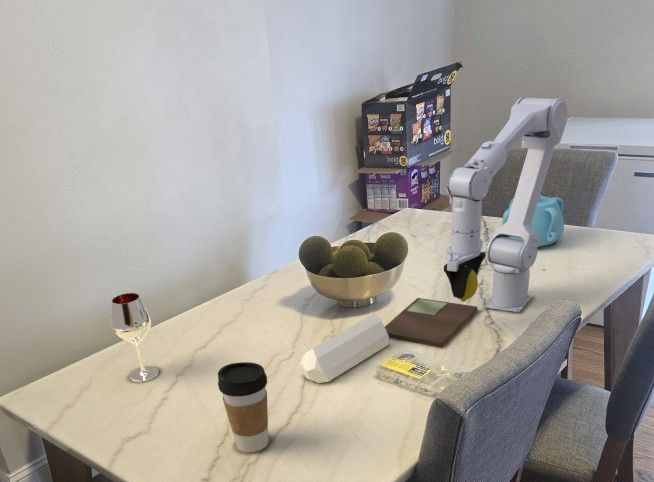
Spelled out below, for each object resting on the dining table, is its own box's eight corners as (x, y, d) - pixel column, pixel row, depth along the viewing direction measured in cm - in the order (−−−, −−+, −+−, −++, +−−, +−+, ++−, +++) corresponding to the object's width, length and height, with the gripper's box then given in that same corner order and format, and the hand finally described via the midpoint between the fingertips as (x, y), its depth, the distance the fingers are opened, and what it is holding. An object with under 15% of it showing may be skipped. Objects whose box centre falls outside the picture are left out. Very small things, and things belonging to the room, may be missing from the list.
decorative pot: (554, 255, 183) (559, 204, 176) (493, 250, 191) (496, 201, 184) (567, 235, 195) (573, 186, 187) (509, 231, 202) (513, 184, 195)
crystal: (361, 317, 154) (286, 359, 141) (383, 308, 148) (307, 351, 135) (375, 347, 155) (302, 391, 142) (397, 339, 150) (323, 385, 136)
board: (417, 302, 168) (417, 296, 167) (477, 311, 160) (477, 305, 159) (379, 336, 154) (379, 330, 154) (442, 347, 146) (442, 341, 146)
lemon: (477, 306, 146) (479, 270, 142) (450, 306, 147) (451, 270, 143) (476, 296, 150) (478, 261, 146) (450, 297, 151) (451, 261, 147)
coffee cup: (228, 433, 127) (215, 362, 119) (273, 427, 128) (263, 355, 119) (229, 459, 120) (216, 385, 112) (277, 453, 120) (267, 378, 112)
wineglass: (169, 366, 153) (152, 291, 143) (152, 385, 147) (133, 307, 137) (137, 364, 156) (118, 290, 146) (119, 382, 149) (98, 306, 140)
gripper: (460, 217, 147) (458, 277, 154) (433, 239, 137) (432, 302, 145) (493, 219, 143) (489, 280, 151) (467, 242, 134) (465, 306, 141)
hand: (463, 291), depth 147 cm, fingers closed on lemon, 5 cm apart
